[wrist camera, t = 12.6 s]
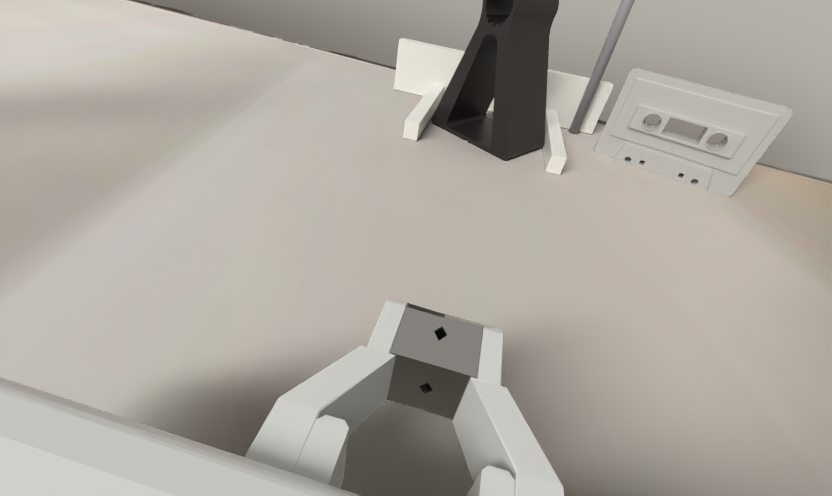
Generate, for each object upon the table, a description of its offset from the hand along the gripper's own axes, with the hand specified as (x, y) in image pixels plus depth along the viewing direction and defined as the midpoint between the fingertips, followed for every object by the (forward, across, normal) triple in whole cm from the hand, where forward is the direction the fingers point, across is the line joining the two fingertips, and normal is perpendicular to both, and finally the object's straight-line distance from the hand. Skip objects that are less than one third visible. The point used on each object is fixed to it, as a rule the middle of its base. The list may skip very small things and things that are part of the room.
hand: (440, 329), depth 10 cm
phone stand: (+29, 0, +6) cm, 30 cm away
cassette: (+30, -16, +6) cm, 35 cm away
